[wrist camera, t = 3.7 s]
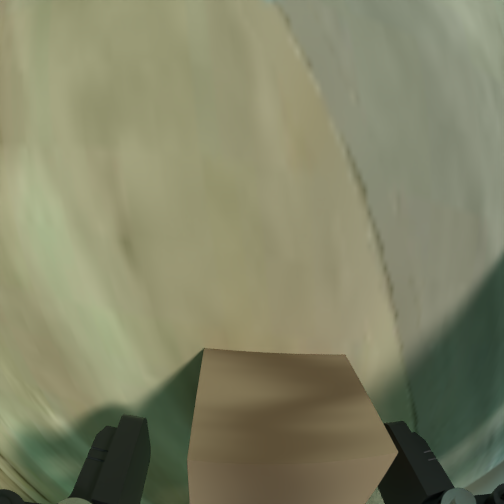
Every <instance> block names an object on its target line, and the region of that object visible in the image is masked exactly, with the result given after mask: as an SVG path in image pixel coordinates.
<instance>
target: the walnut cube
mask: <svg viewBox="0 0 504 504" xmlns="http://www.w3.org/2000/svg"><path fill="white" fill-rule="evenodd" d="M397 454H398V450H397V449H396V447H395V445H394V443H393V441H392V439H391V437H390V435H389V433H388V432H387V430H386V428H385V426H384V424H383V422H382V420H381V419H380V417H379V415H378V413H377V411H376V409H375V407H374V406H373V404H372V402H371V400H370V398H369V396H368V395H367V393H366V391H365V389H364V387H363V386H362V384H361V382H360V380H359V378H358V377H357V375H356V373H355V371H354V369H353V368H352V366H351V364H350V362H349V360H348V359H347V357H346V355H319V354H283V353H262V352H246V351H232V350H219V349H208V348H204V352H203V358H202V364H201V370H200V376H199V383H198V389H197V395H196V402H195V409H194V415H193V422H192V429H191V436H190V443H189V450H188V457H187V467H188V484H189V499H190V504H366V502H367V501H368V499H369V498H370V496H371V495H372V494H373V492H374V491H375V489H376V488H377V486H378V485H379V483H380V482H381V480H382V478H383V477H384V475H385V474H386V472H387V471H388V469H389V467H390V466H391V464H392V462H393V461H394V459H395V457H396V456H397Z"/></svg>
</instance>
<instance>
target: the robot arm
mask: <svg viewBox="0 0 504 504" xmlns="http://www.w3.org/2000/svg"><path fill="white" fill-rule="evenodd" d="M384 426H385V428H386V430H387V432H388V433H389V435H390V437H391V439H392V441H393V443H394V445H395V447H396V449H397V450H398V454H397V456H396V457H395V459H394V461H393V462H392V464H391V466H390V467H389V469H388V471H387V472H386V474H385V475H384V477H383V478H382V480H381V482H380V483H379V485H378V489H379V491H380V493H381V496H382V498H383V500H384V503H385V504H504V484H501V485H499V486H498V487H497V488H496V489H495V490H494V491H493V492H492V493H491V494H485V495H475V496H474V495H473V494H472V493H471V492H469V491H468V490H466V489H463V488H455V487H454V486H453V484H452V483H451V481H450V479H449V478H448V476H447V475H446V473H445V471H444V470H443V468H442V467H441V465H440V463H439V462H438V460H437V459H436V457H435V455H434V454H433V452H431V449H430V447H429V446H428V444H427V443H426V441H425V440H424V439H423V438H422V437H420V436H419V435H418V434H417V433H415V432H412V433H411V431H410V429H409V428H408V426H407V425H406V423H405V422H403V421H398V422H392V423H384ZM91 447H92V448H91V449H90V451H89V453H88V457H87V458H86V460H85V463H84V465H83V467H82V470H81V472H80V475H79V477H78V479H77V482H76V484H75V487H74V489H73V491H72V493H71V495H70V496H69V497H68V498H67V499H64V500H62V501H60V502H59V503H57V504H140V501H141V496H142V492H143V487H144V483H145V479H146V475H147V470H148V466H149V462H150V451H151V450H150V441H149V433H148V426H147V420H146V418H142V417H137V416H131V415H126V414H123V416H122V417H121V420H120V422H119V425H118V427H117V428H115V427H111V426H106V427H105V428H104V429H103V430H102V431H100V432H99V433H98V434H97V435H96V437H95V440H94V442H93V444H92V446H91ZM0 504H39V503H31V502H24V501H23V500H22V498H21V497H20V496H19V495H18V494H16V493H15V492H13V491H10V490H6V489H1V490H0Z"/></svg>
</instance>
